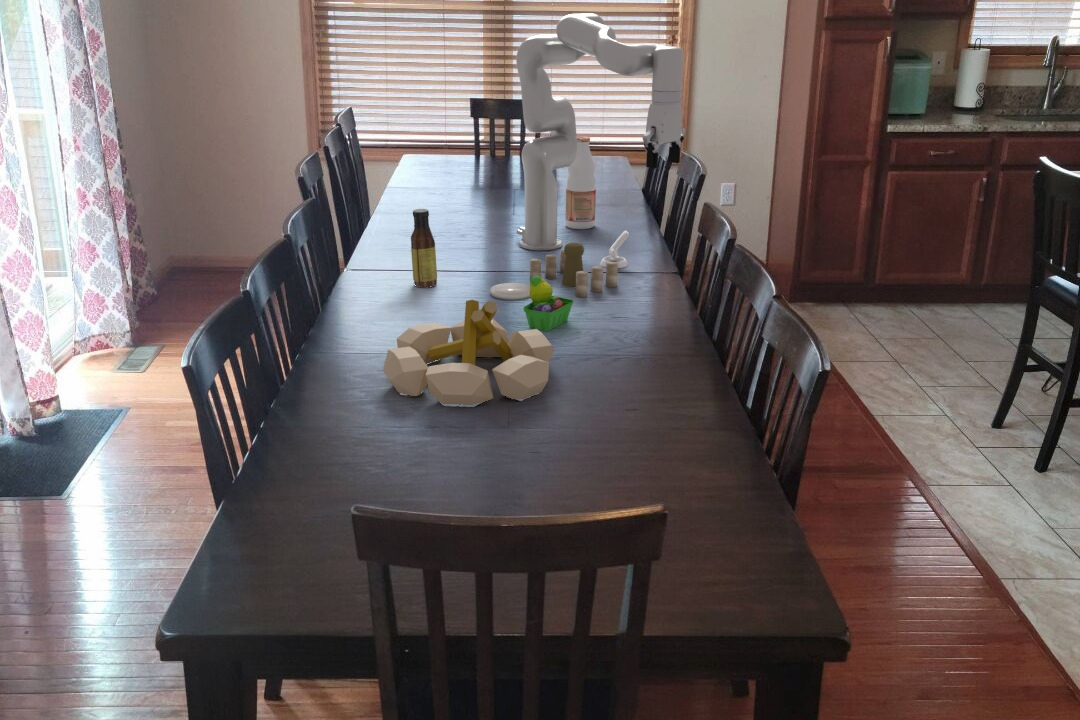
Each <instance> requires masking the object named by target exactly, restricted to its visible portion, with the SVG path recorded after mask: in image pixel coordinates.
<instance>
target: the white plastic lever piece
mask: <svg viewBox="0 0 1080 720" xmlns="http://www.w3.org/2000/svg"><path fill="white" fill-rule="evenodd" d="M629 235H630V233H629V232H628V231H627V230H624V231H623V232H622V233H621V234H620V235H619V236H618V237H617V239H616V240H615V241H614V243H613V244H612V245H611V247H609V248H608V251H609V252H608V256H604V257H603V258H602V260H601V261H600V267H603V268H606V263H607V262H617V263H618V269H621V268H626V267H628V265H629V264H628V261H627V260H626V258H625V257H623V256H619V254H618V249H619V248H620V246H622V244H624V242H625V241H626V240H627V238H628V237H629Z"/></svg>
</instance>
